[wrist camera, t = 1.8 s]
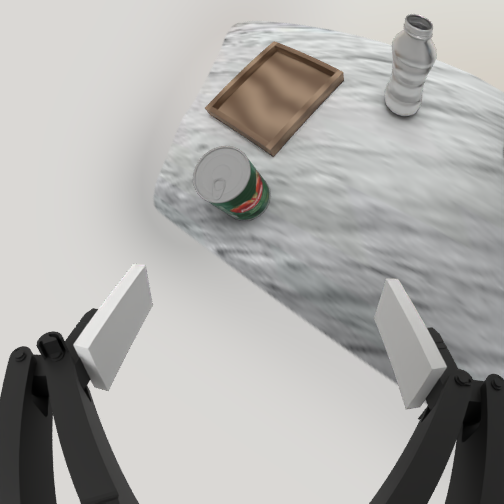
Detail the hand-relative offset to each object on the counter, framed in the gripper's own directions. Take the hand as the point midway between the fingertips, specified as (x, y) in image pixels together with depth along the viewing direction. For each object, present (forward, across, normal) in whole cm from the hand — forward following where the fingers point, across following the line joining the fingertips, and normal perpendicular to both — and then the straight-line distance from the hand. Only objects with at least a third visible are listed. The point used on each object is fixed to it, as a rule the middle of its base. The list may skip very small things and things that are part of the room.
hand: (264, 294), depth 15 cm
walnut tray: (+42, 0, +13) cm, 44 cm away
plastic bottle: (+37, +22, +14) cm, 45 cm away
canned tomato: (+33, -4, -4) cm, 33 cm away
